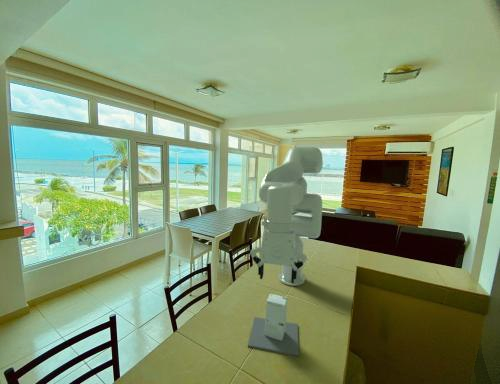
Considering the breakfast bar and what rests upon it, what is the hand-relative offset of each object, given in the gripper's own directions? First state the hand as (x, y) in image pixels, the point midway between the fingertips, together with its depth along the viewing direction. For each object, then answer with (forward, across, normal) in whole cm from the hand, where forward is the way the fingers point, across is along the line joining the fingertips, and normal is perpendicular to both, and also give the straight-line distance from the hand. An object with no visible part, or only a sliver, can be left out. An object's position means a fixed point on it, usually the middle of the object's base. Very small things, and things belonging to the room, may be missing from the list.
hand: (276, 278), depth 66 cm
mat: (+19, 0, -1) cm, 19 cm away
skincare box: (+19, 0, 0) cm, 19 cm away
